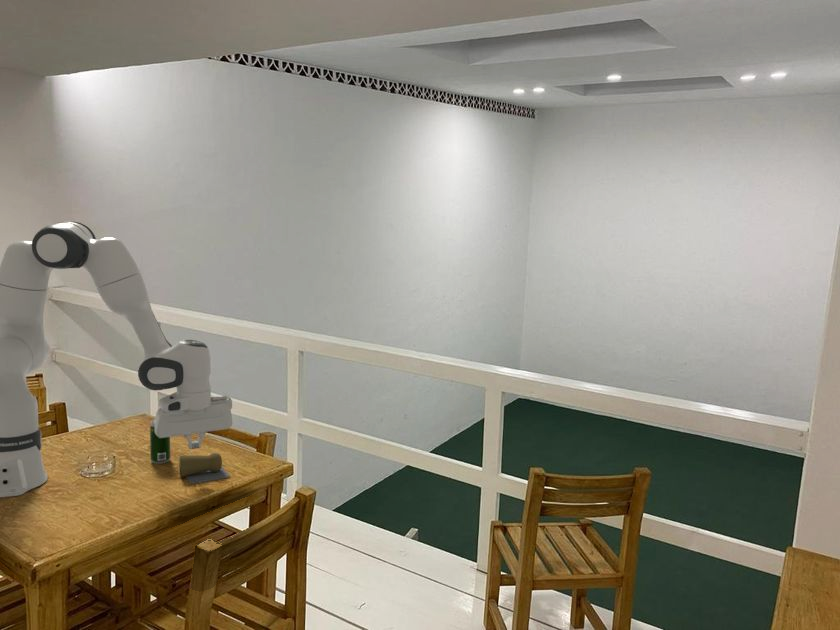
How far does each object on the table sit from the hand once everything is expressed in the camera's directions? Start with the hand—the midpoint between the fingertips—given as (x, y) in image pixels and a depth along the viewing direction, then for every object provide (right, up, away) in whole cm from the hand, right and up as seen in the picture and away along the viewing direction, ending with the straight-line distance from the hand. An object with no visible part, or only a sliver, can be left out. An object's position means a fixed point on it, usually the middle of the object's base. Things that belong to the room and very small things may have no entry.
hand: (194, 448), depth 184 cm
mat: (+2, -8, +3) cm, 9 cm away
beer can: (-14, -6, +12) cm, 19 cm away
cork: (-4, -5, 0) cm, 7 cm away
